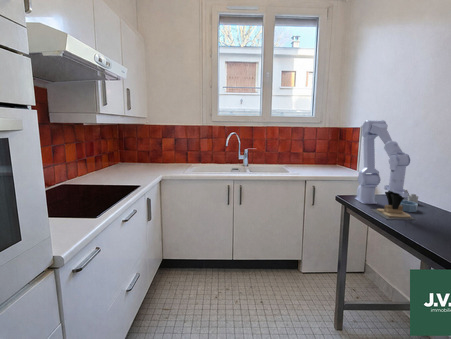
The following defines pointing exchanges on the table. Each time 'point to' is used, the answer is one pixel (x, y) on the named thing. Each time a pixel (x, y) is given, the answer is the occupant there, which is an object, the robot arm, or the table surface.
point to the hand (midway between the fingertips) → (393, 207)
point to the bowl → (409, 206)
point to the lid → (393, 211)
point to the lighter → (412, 197)
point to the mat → (393, 217)
